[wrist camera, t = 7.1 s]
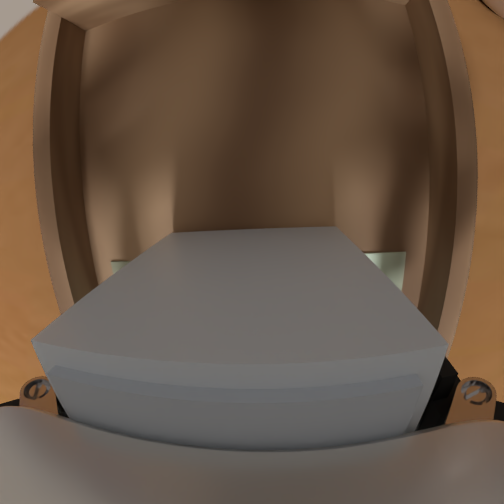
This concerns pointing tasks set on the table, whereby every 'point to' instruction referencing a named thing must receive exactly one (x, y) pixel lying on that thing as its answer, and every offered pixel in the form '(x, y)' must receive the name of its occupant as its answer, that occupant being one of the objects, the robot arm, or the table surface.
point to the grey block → (246, 344)
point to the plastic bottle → (496, 6)
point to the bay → (257, 134)
